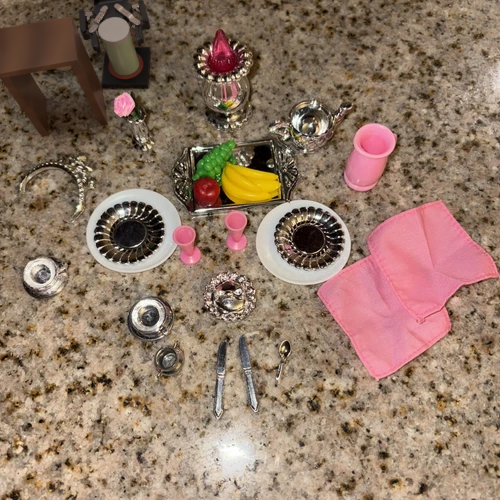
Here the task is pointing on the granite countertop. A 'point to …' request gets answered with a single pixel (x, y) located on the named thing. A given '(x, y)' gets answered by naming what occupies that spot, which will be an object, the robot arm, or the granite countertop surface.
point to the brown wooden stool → (46, 66)
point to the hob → (133, 80)
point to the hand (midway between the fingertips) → (118, 47)
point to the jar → (119, 45)
